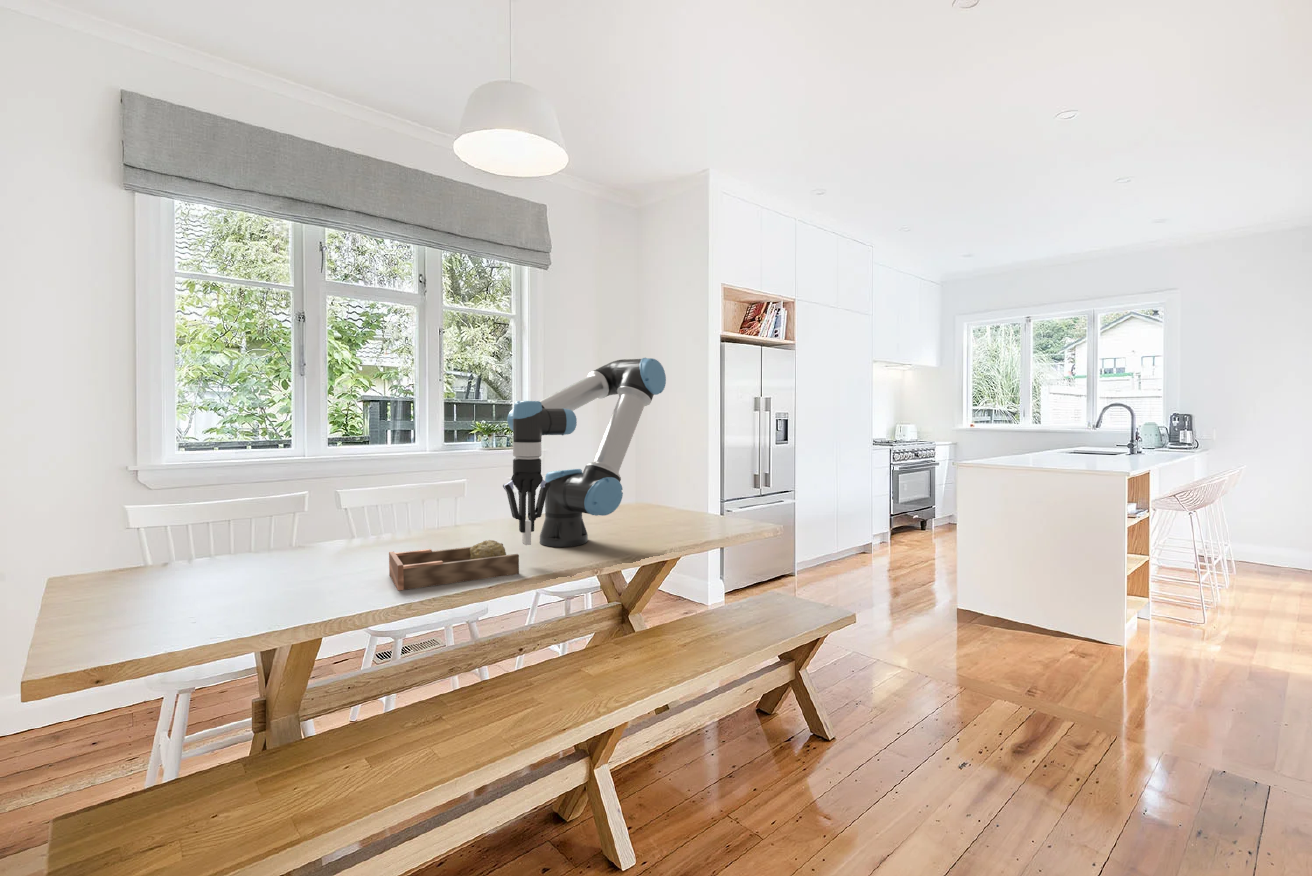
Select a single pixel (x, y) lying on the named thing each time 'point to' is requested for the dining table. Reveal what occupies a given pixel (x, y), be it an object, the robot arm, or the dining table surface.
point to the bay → (446, 567)
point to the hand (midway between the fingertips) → (526, 543)
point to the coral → (487, 550)
